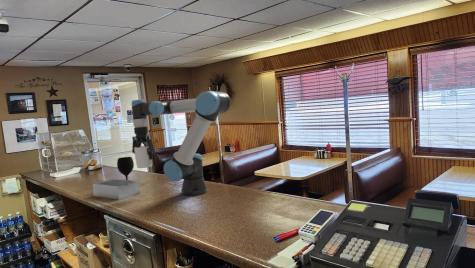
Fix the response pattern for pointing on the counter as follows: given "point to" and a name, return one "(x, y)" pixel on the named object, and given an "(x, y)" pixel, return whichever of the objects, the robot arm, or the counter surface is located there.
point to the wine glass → (125, 165)
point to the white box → (141, 157)
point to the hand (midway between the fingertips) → (144, 165)
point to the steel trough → (116, 189)
